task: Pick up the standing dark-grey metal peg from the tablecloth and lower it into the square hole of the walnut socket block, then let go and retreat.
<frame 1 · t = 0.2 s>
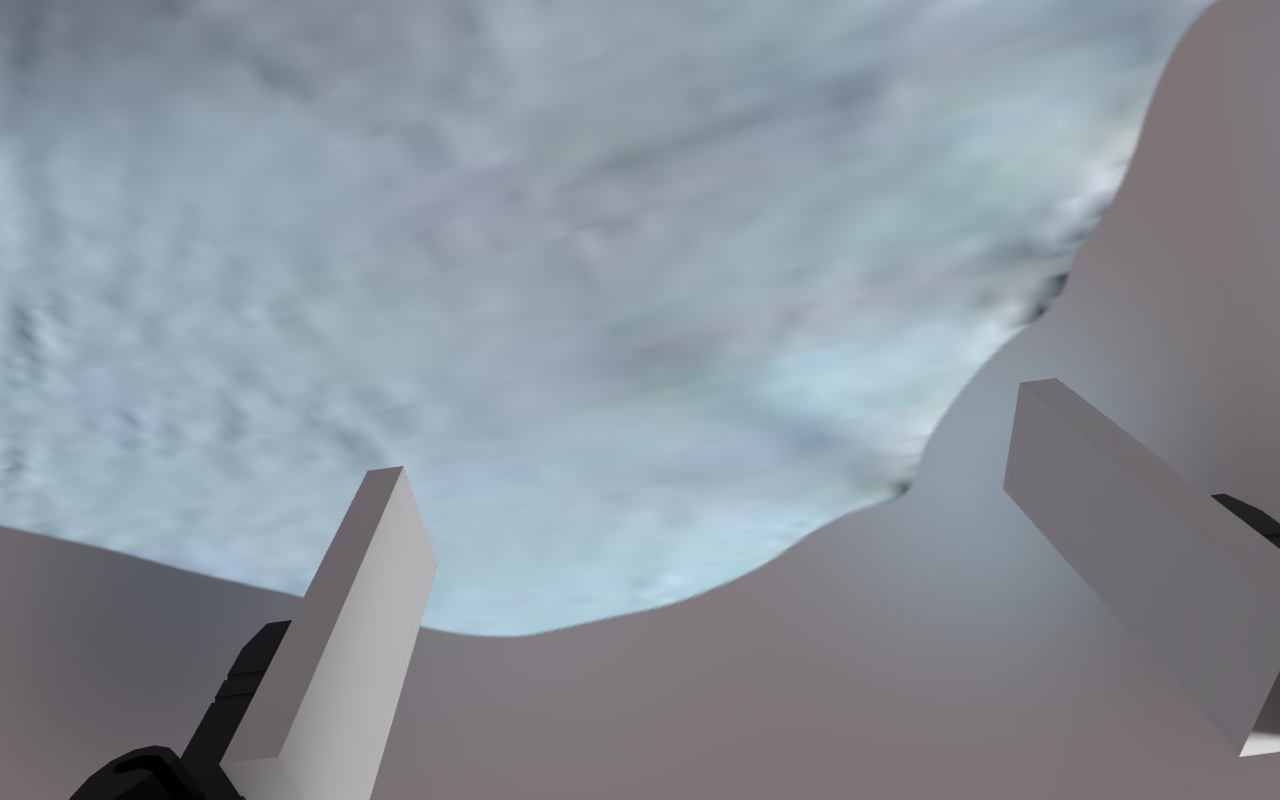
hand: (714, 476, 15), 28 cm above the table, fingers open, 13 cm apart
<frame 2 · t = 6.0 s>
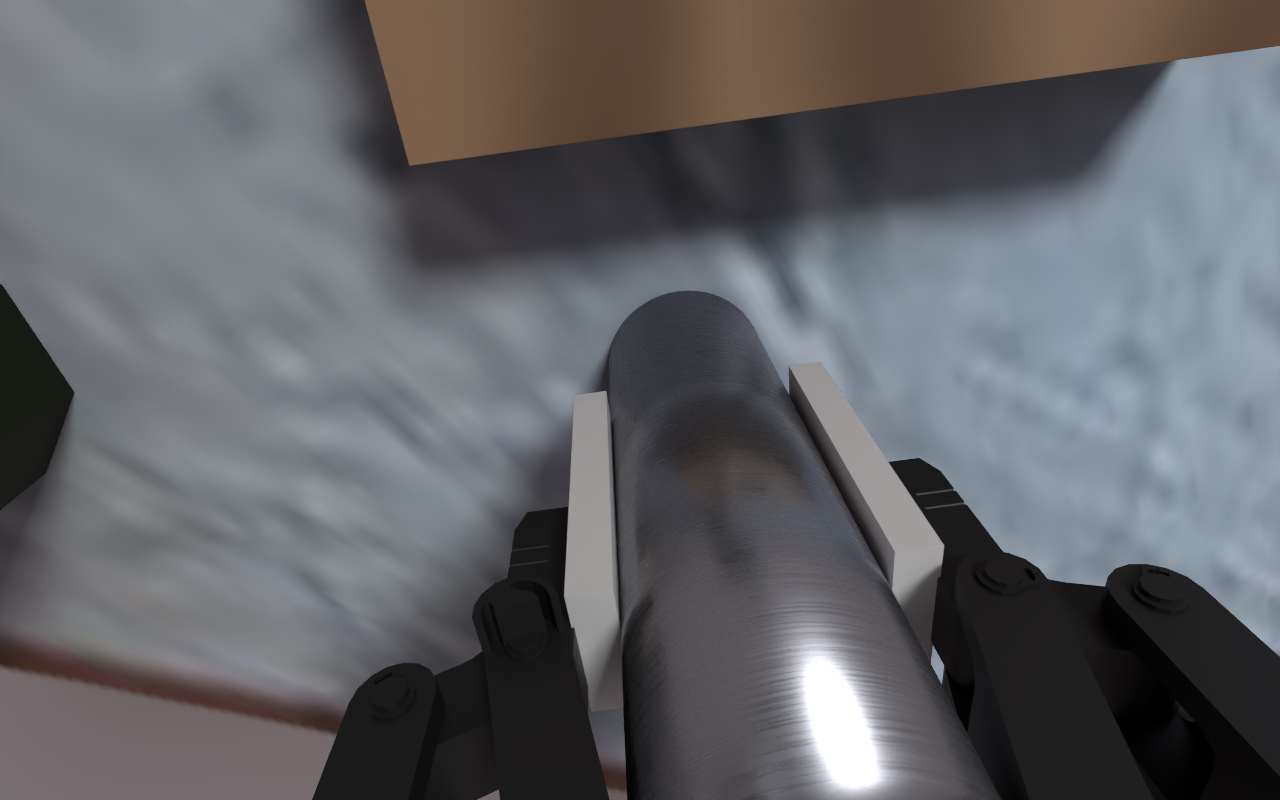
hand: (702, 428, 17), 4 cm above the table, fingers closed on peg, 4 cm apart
peg: (684, 363, 20), on the table, touching gripper
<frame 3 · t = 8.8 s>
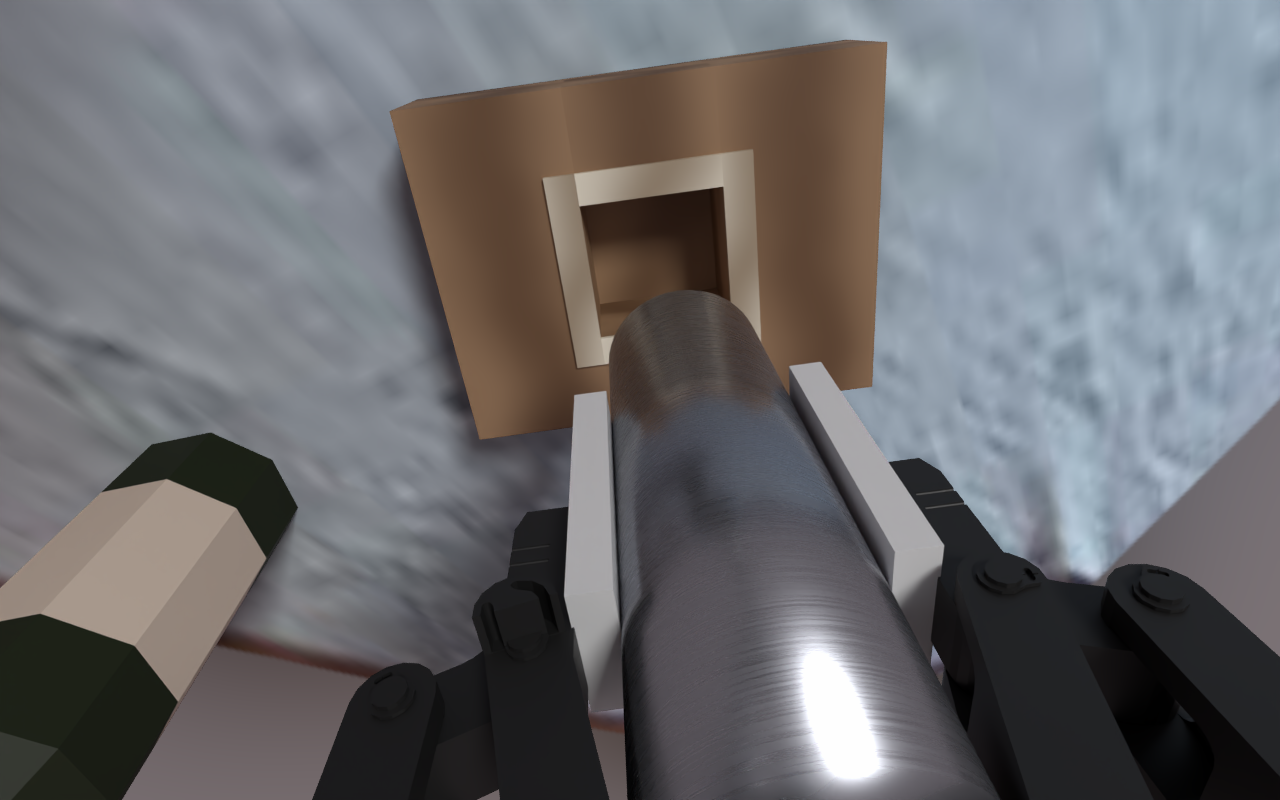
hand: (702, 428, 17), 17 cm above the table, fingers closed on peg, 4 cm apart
socket: (650, 235, 32), on the table
wine bottle: (218, 495, 38), on the table
peg: (684, 362, 20), point 14 cm above the table, touching gripper
when the fingers open (6 cm above the table, at t = 11.6 s): peg drops 2 cm, resting on socket.
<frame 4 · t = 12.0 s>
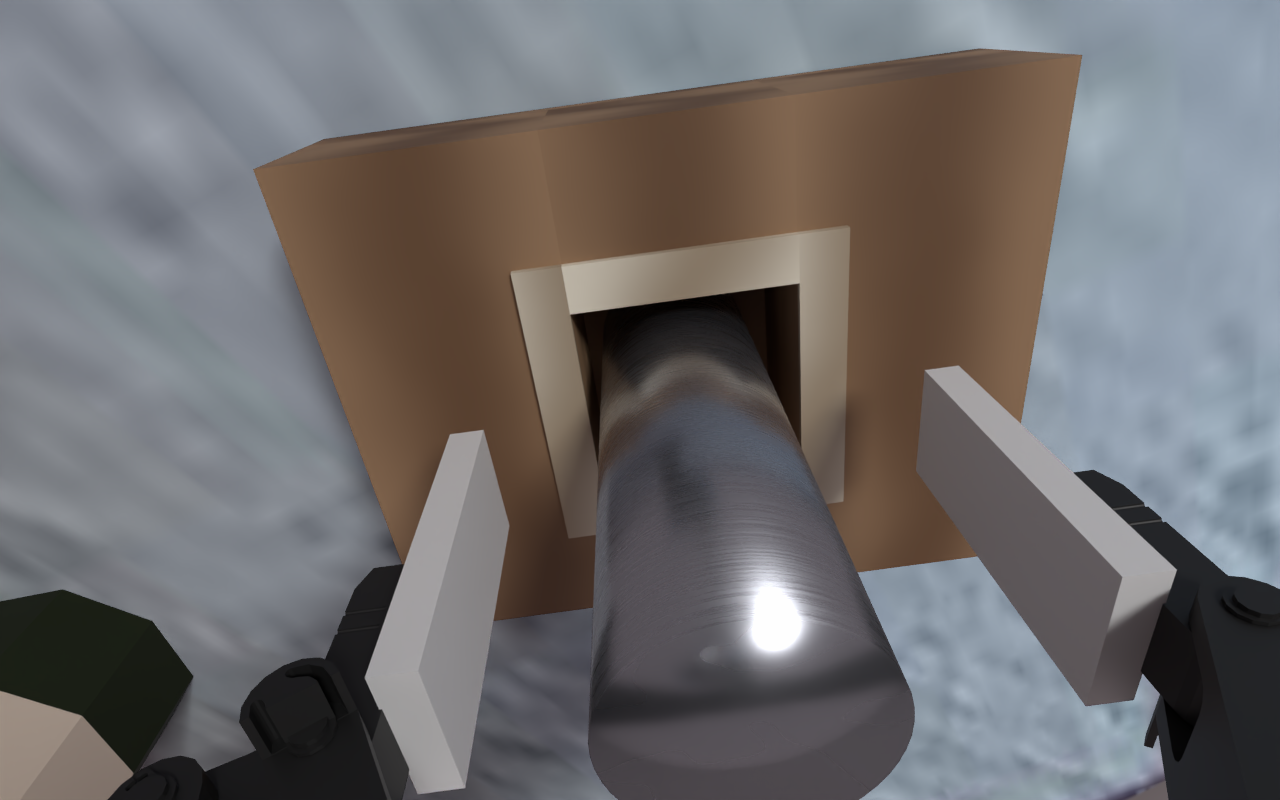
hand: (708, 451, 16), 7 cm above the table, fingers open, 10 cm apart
socket: (675, 329, 22), on the table
wine bottle: (84, 663, 28), on the table
peg: (673, 337, 22), point 1 cm above the table, touching socket
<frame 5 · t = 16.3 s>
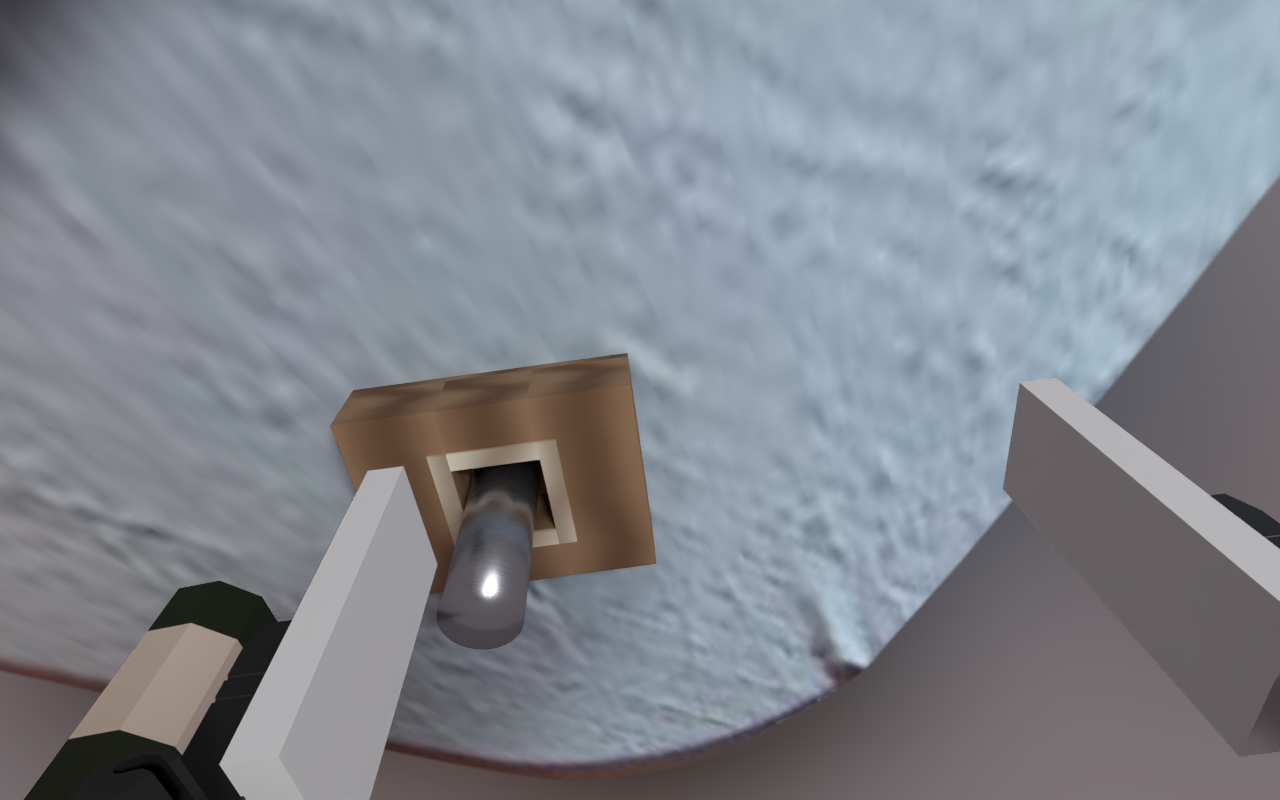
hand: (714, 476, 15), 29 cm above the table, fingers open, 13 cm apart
socket: (512, 460, 48), on the table
wine bottle: (224, 618, 54), on the table
peg: (509, 465, 48), point 1 cm above the table, touching socket
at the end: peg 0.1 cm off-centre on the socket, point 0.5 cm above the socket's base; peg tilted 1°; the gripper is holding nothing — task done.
